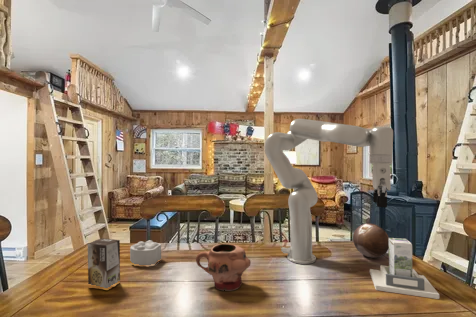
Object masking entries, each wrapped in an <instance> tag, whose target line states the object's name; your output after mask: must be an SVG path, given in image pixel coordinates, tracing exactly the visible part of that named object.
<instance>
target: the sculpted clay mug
mask: <svg viewBox="0 0 476 317" xmlns="http://www.w3.org/2000/svg"><path fill="white" fill-rule="evenodd" d="M202 258H206V260H207V267H205V266H203V264H201V262H200V261H201V259H202ZM195 261H196V262H195V263H196V264H197V266H198V267H199V268H201V269H202V270H203V271H204V272H206V273H208V275H210V276H212V279H213V283H214V288H215V287H216V288H215V289H217V290H220V291H224V290H225V292H226V291H236V290H238V289H239V288H241V286H242V281H243V280H242V275H243V273H244V272H245V271H246V270H247V269H248V268H249V267H250V266H251V262H252V261H251V259H250V258H248V257H247V254H246V251H245V249H244V248H243V247H240V246H239V245H237V244H230V243H228V244H227V243H220V244H216V245H214V246H212V247H211V248H210V250H209V251H201V252H199V253H197V254H196V256H195Z"/></svg>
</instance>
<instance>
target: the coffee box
mask: <svg viewBox="0 0 476 317" xmlns="http://www.w3.org/2000/svg"><path fill="white" fill-rule="evenodd" d="M120 241H121V240H120V239H113V238H111V239H110V238H103V237H102V238H98V239H95V240H93V241H90V242H87V282H88V284H91V285H96V286H100V287H104V288H108V287H110V286H111V285H113V284H115V283H117V282H118V281H120V282H121V251H120V250H121V247H120V246H121V245H120V243H121V242H120ZM88 284H87V285H88Z"/></svg>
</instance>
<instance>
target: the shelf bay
mask: <svg viewBox="0 0 476 317" xmlns="http://www.w3.org/2000/svg"><path fill="white" fill-rule="evenodd" d="M369 274H370V277H371V280H372V283H373V287H374V288H375V290H376V291H381V292H387V293H396V294H401V295H408V296H416V297H422V298H428V299H435V300H436V299H437V300H440V293H439V292H438V291H437V290H436V289H435V287H434V286H433V285H432V284H431V282H430V281H429V280H428V278H426V276H425V275H423V274H422V275H421V274H418V272H417V271H416V270H415V269H414V268H412V277H408V276H400V275H392V274H389V265H382V264H381V265H380V269H372V268H369Z"/></svg>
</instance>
